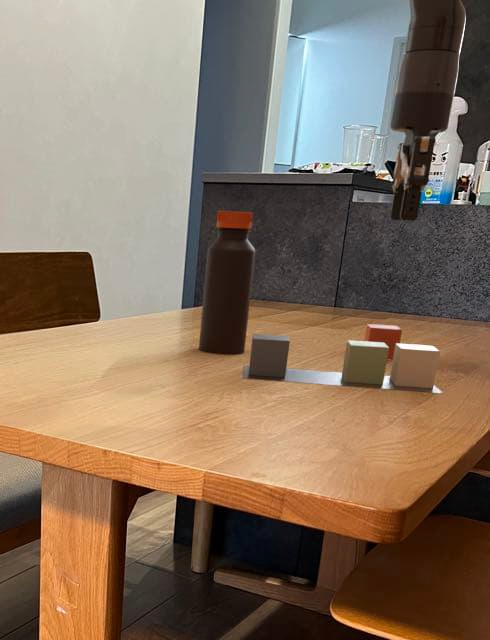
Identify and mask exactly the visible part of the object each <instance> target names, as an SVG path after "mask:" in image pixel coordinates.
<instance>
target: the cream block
mask: <svg viewBox="0 0 490 640" xmlns="http://www.w3.org/2000/svg"><path fill="white" fill-rule="evenodd" d="M440 355H441V351H440V349H438V348H436V346H434V345H426V344H425V345H424V344H411V343H400V344H397V343H396V344H395V350H394V356H393V360H392V363H391V367H390V374H389V376H390V380H391V381H392V383H393V384H394V385H395V386H405V387H419V388H432V389H433V386H434V385H435V381H436V375H437V370H438V365H439V360H440Z"/></svg>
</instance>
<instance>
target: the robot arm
mask: <svg viewBox="0 0 490 640" xmlns="http://www.w3.org/2000/svg"><path fill="white" fill-rule="evenodd" d="M409 12H410V13H409V15H410V18H409V24H408V29H407V33H406V40H405V45H404V51H403V57H402V61H401V65H400V68H399V72H398V77H397V83H396V89H395V95H394V102H393V107H392V111H391V112H392V113H391V119H390V124H389V125H390V126H389V127H390V129H391V131H393V132H397V133H404V134H405V137H404V140H403V142H399V144H398V146H397V153H396V160H395V166H394V171H393V176H392V181H391V188H392V191H393V198H392V203H391V209H390V215H389V218H390V220H392V221H410V222H412V221H413V222H414V221H416V220H417V219H418V215H419V210H420V205H421V199H422V195H423V194H422V193H423V192H424V190H425V189H426V186H428V183H429V181H430V172H431V166H432V161H433V155H434V150H435V149H434V148H435V144H436V141H437V139H436V136H435V135H434V136H433V135H431V134H439V133H445V132H446V131H447V130H448V128H449V124H450V120H451V114H452V108H453V104H454V103H453V102H454V99H455V93H456V86H457V81H458V75H459V66H460V65H459V62H460V53H461V49H462V44H463V39H464V33H465V27H466V20H467V19H466V18H467V15H466V14H467V12H466V8H465V6H464V4H463V3H462V1H461V0H409Z"/></svg>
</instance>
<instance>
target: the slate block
mask: <svg viewBox="0 0 490 640" xmlns="http://www.w3.org/2000/svg"><path fill="white" fill-rule="evenodd" d="M290 341H291V340H290V337H289V335H276V334H262V333H261V334H260V333H253V334H252V338H251V347H250V356H249V365H248V366H249V375H257V376H271V377H284V378H285V375H286V368H288V367H287V366H288V360H289V359H288V358H289V351H290V343H291V342H290Z"/></svg>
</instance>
